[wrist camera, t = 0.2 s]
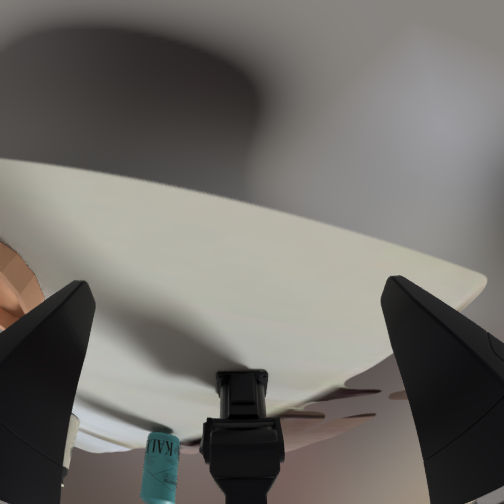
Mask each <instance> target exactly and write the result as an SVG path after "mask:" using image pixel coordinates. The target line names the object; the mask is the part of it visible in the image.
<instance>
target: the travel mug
mask: <svg viewBox="0 0 504 504" xmlns="http://www.w3.org/2000/svg"><path fill="white" fill-rule="evenodd" d="M79 425H80V421H79V420H78V418H77V417H76V416H74V415H73V414H72V413H71V417H70V423H69V428H68V434H67V440H66V447H65V454H64V462H63V466H62V467H63V472H62V483H61V486H64V485H63V478H64V477H66V475H67V473H68V468H69V464H70V460H71V455H72V451H73V447H74V443H75V439H76V435H77V432H78V428H79Z"/></svg>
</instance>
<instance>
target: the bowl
mask: <svg viewBox="0 0 504 504" xmlns="http://www.w3.org/2000/svg"><path fill="white" fill-rule="evenodd" d="M43 301H44V295H43V293H42V290H41V288H40V286H39V283H38V281H37V279H36V276H35V274H34V273H33V272H32V271H31V269H30V268H29V267H28V266H27V265H26V263H25V262H24V261H23V260H22V258H21V257H20V256H19V254H18V253H16V252H15V251H13V250H12V249H10V248H9V247H7V246H6V245H4V244H3V243H1V242H0V329H2V330H3V331H4V330H5V329H6V328H8V327H9V326H10V325H12V324H13V323H14V322H16V321H17V320H18V319H20V318H21V317H22V316H24V315H25V314H26V313H28V312H29V311H31V310H32V309H33V308H35V307H36V306H38V305H39V304H40V303H42V302H43Z"/></svg>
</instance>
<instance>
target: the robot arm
mask: <svg viewBox="0 0 504 504" xmlns="http://www.w3.org/2000/svg"><path fill="white" fill-rule="evenodd" d="M381 307H382V311H383V314H384V318H385V322H386V326H387V330H388V334H389V339H390V342H391V346H392V349H393V352H394V355H395V358H396V361H397V364H398V367H399V371H400V374H401V377H402V380H403V383H404V387H405V390H406V393H407V397H408V400H409V404H410V407H411V411H412V415H413V419H414V422H415V426H416V430H417V435H418V438H419V443H420V447H421V452H422V457H423V460H424V467H425V473H426V478H427V484H428V489H429V496H430V504H465V503H468V502H470V501H473V500H475V501H474V502H472V503H471V504H504V343H503V342H501V341H500V340H498V339H497V338H495V337H494V336H493V335H491V334H490V333H489V332H486V330H484V329H483V328H481V327H480V326H478V325H477V324H476V323H474V322H473V321H471V320H470V319H468V318H467V317H465V316H464V315H462V314H461V313H459V312H458V311H456V310H455V309H453V308H452V307H450V306H449V305H447V304H446V303H444V302H443V301H441V300H440V299H438V298H436V297H435V296H433V295H432V294H430V293H429V292H427V291H425V290H424V289H422V288H421V287H419V286H417V285H416V284H414V283H413V282H411V281H409V280H408V279H406V278H405V277H403V276H400V275H398V276H390V277H388V279H387V281H386V284H385V287H384V290H383V293H382V296H381ZM95 308H96V304H95V300H94V297H93V295H92V292H91V290H90V287H89V285H88V283H87V282H86V281H84V280H75V281H73V282H71V283H70V284H68V285H67V286H65V287H64V288H62V289H61V290H59V291H58V292H56V293H55V294H53V295H52V296H50V297H49V298H47V299H46V300H45V301H43V302H42V303H40V304H39V305H38V306H36V307H35V308H33V309H32V310H31V311H29V312H28V313H26V314H25V315H24V316H22V317H21V318H20V319H18V320H17V321H16V322H14V323H13V324H12V325H10V326H9V327H8V328H6V329H5V330H4V331H2V332H1V333H0V504H60V496H61V483H62V472H63V467H62V466H63V462H64V454H65V447H66V440H67V434H68V428H69V423H70V417H71V412H72V408H73V403H74V398H75V394H76V390H77V385H78V381H79V377H80V374H81V370H82V366H83V362H84V359H85V355H86V351H87V347H88V342H89V337H90V332H91V327H92V322H93V317H94V313H95ZM216 378H217V386H218V394H219V398H220V418H207V422H205V423H203V435H202V440H201V444H200V448H199V452H200V453H201V454H202V455H203V457H204V459H205V463H206V464H208V465H210V473H211V475H212V477H213V478H214V481H215V482H216V484H217V486H218V487H219V488H220V490H221V491H222V492H223V494H224V495H225V497H226V504H267V495H268V493H269V491H270V490H271V488H272V487H273V485H274V483H275V481H276V479H277V477H278V474H279V472H280V463H284V458H285V457H284V456H285V451H284V440H283V435H282V429H281V424H280V418H279V416H275V417H268V418H266V406H265V397H266V390H267V382H268V373H267V372H218V373H217V374H216Z"/></svg>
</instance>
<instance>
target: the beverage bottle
mask: <svg viewBox="0 0 504 504" xmlns="http://www.w3.org/2000/svg"><path fill="white" fill-rule="evenodd" d="M147 439H148V440H147V443H146V444H147V446H146V452H145V453H146V454H145V460H144V470H143V478H142V486H141V494H140V497H141V499H142V500H143V501H144V502H145V503H146V504H175V492H176V484H177V482H176V481H177V468H178V458H179V453H180V452H179V445H180V441H179V439H178V438H177V437H176V436H173V435H171V434H167V433H162V432H152V433H150V434H149V436H148V438H147Z"/></svg>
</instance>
